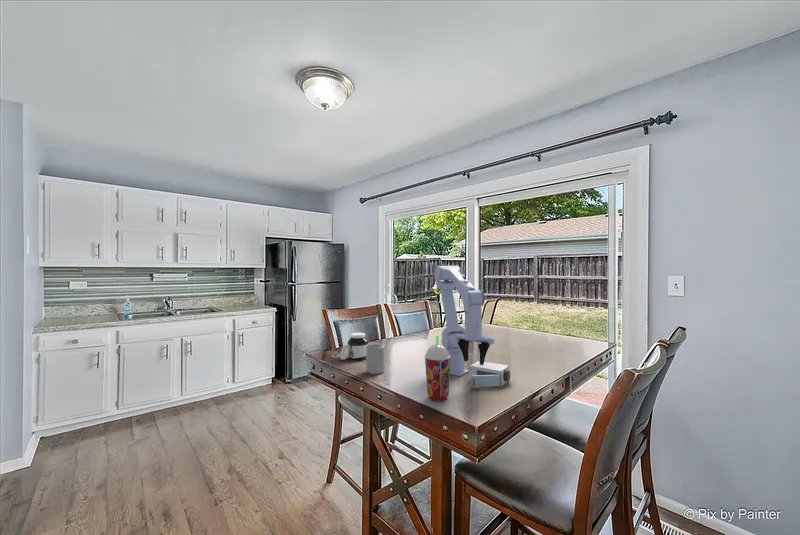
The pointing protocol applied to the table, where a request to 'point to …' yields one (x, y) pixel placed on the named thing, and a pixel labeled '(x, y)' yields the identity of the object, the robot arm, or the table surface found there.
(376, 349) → the can
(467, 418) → the table surface
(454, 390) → the table surface
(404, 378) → the table surface
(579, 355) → the table surface
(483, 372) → the camera body
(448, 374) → the smoothie
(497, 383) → the side door
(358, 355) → the spread jar
